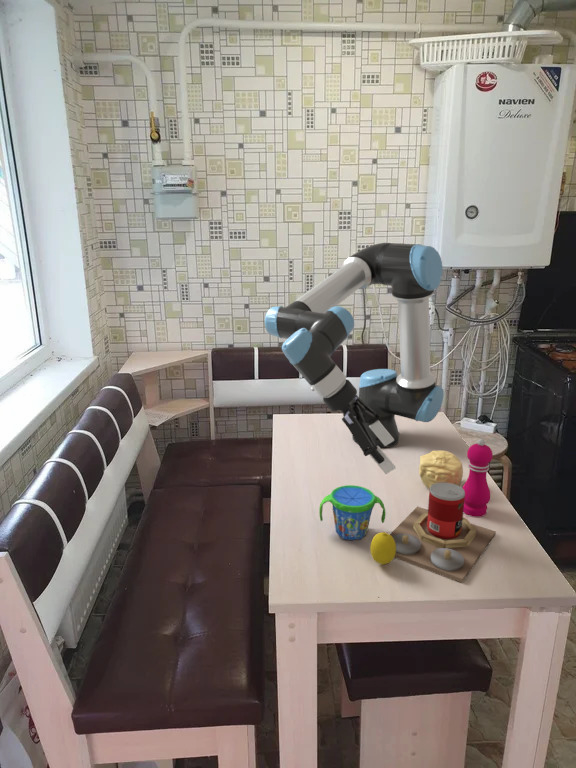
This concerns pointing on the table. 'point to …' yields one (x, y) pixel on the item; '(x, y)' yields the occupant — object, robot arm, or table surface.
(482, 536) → the board
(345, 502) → the snack cup
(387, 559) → the lemon
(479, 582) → the table surface
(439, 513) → the canned food
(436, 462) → the sculpture
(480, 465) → the pepper mill
